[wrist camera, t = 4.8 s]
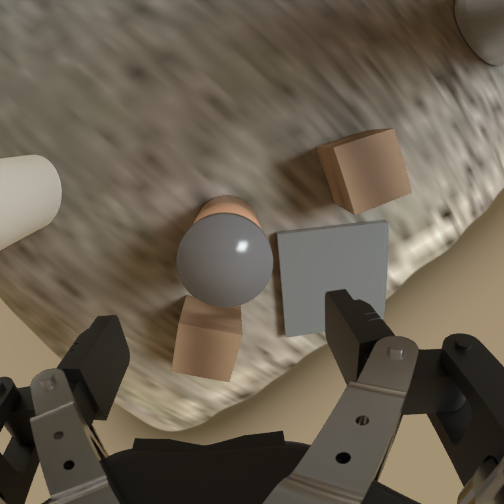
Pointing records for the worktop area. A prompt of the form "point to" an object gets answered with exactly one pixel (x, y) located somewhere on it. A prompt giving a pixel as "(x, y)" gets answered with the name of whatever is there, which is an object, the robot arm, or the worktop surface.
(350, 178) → the block
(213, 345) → the block
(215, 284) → the tan jar
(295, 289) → the coaster
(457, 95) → the worktop surface
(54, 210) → the cylindrical container
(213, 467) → the robot arm
